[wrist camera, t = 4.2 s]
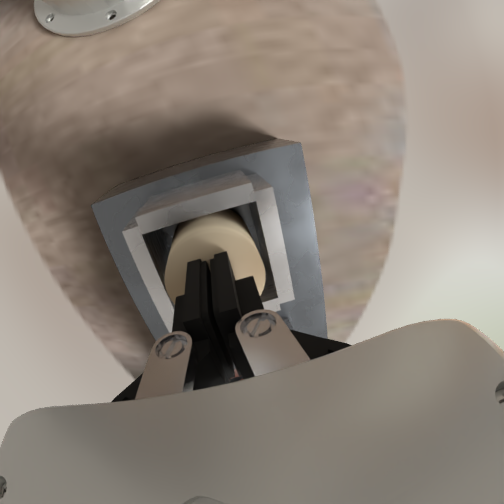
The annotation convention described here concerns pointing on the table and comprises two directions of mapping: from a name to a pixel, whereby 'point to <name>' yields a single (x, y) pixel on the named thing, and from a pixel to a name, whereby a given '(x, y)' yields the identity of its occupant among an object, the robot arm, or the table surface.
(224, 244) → the beige ball
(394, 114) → the table surface
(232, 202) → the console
